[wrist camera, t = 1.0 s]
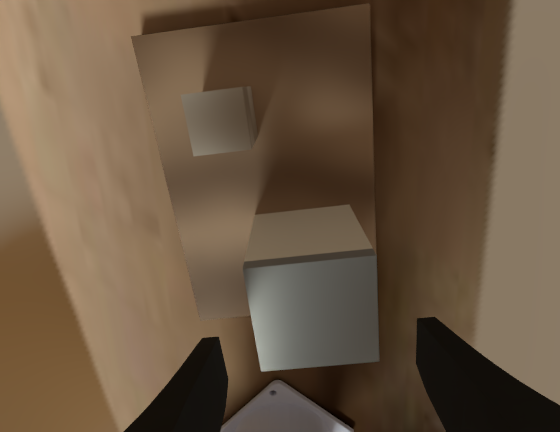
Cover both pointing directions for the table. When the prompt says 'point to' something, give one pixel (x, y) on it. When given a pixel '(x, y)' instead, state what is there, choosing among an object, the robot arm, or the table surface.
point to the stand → (259, 132)
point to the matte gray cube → (312, 289)
